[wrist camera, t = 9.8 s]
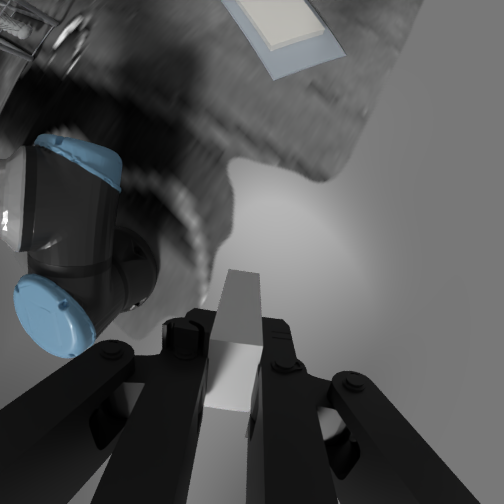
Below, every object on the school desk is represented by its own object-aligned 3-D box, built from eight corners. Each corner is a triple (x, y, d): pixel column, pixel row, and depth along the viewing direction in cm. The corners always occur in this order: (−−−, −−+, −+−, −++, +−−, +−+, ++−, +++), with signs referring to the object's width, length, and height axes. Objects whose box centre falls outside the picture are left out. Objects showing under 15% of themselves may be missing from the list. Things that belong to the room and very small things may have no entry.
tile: (325, 29, 35) (284, -23, 32) (271, 45, 36) (232, -8, 33) (322, 35, 37) (283, -16, 35) (270, 52, 39) (233, -1, 36)
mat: (345, 56, 39) (346, 55, 38) (273, 80, 40) (273, 80, 40) (289, -20, 34) (289, -21, 34) (221, 1, 36) (221, 0, 36)
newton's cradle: (-6, 38, 33) (-45, 24, 16) (15, 7, 31) (-21, -12, 14) (35, 63, 38) (-17, 43, 20) (62, 25, 36) (17, -5, 18)
